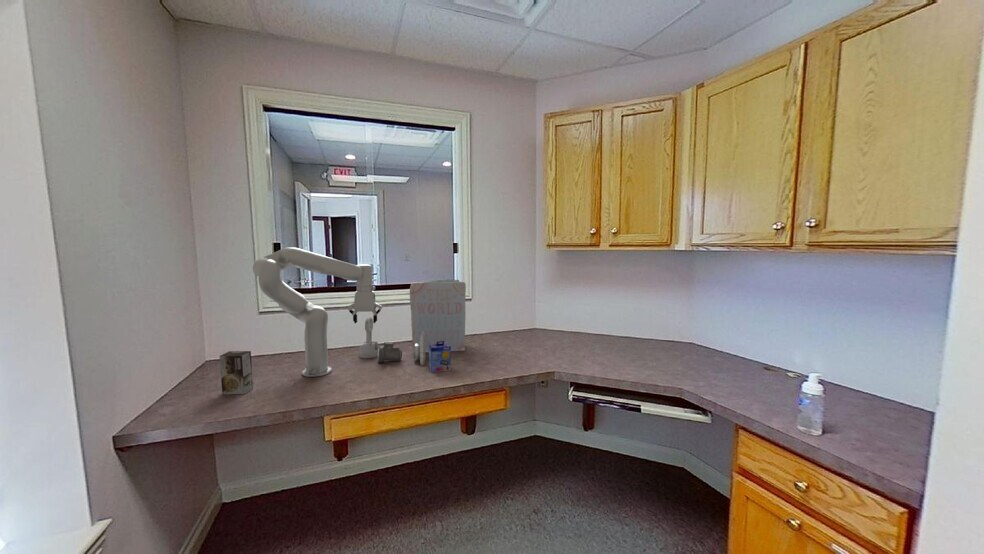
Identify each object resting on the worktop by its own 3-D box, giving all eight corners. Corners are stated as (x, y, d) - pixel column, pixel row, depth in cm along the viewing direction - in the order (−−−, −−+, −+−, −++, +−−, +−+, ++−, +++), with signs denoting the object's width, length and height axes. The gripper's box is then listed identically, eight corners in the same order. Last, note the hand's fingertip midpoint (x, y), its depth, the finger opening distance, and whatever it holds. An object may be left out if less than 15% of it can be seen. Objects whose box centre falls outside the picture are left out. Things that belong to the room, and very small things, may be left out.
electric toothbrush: (356, 357, 204) (375, 358, 204) (355, 319, 202) (374, 319, 202) (363, 351, 215) (381, 352, 214) (362, 315, 213) (380, 315, 212)
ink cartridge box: (430, 372, 182) (430, 342, 180) (428, 369, 187) (428, 339, 185) (451, 370, 185) (451, 341, 184) (448, 367, 190) (448, 338, 189)
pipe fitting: (376, 363, 193) (378, 343, 193) (377, 360, 200) (379, 340, 200) (401, 365, 195) (403, 344, 196) (400, 361, 203) (402, 342, 203)
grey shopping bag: (410, 347, 229) (409, 279, 226) (463, 344, 235) (462, 278, 233) (410, 354, 212) (408, 281, 210) (466, 350, 218) (465, 280, 216)
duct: (423, 364, 193) (423, 337, 192) (413, 365, 193) (412, 337, 191) (425, 356, 207) (425, 330, 206) (416, 356, 206) (415, 331, 205)
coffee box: (253, 388, 161) (251, 350, 159) (244, 394, 155) (242, 355, 153) (231, 388, 161) (229, 350, 159) (221, 394, 154) (218, 355, 153)
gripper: (383, 288, 199) (384, 321, 200) (348, 288, 197) (349, 321, 198) (380, 289, 191) (381, 324, 193) (344, 289, 189) (345, 324, 191)
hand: (365, 322), depth 196 cm, fingers open, 9 cm apart
